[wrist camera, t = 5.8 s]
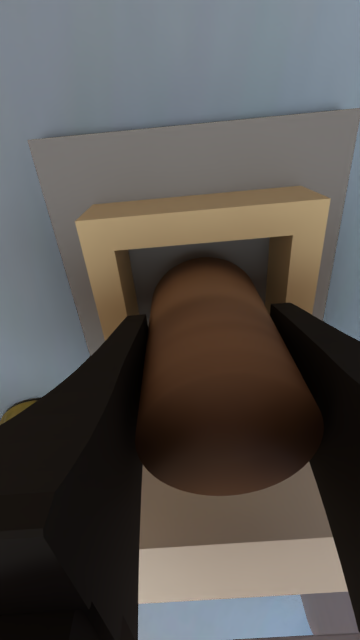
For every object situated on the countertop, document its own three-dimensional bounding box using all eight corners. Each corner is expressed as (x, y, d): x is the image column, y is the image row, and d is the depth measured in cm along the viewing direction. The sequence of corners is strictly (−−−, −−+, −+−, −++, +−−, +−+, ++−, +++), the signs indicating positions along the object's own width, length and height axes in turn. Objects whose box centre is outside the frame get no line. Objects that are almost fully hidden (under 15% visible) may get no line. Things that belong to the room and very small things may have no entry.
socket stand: (293, 414, 20) (368, 590, 12) (120, 427, 20) (89, 606, 12) (340, 110, 11) (665, 71, 4) (43, 139, 12) (-191, 154, 4)
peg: (254, 346, 13) (309, 490, 8) (157, 353, 13) (148, 501, 8) (260, 252, 11) (340, 363, 6) (144, 262, 11) (119, 380, 6)
